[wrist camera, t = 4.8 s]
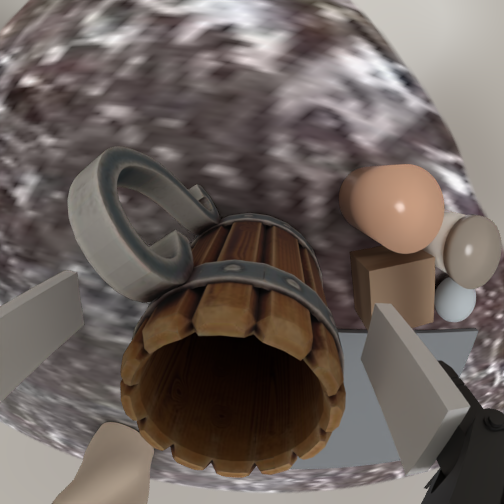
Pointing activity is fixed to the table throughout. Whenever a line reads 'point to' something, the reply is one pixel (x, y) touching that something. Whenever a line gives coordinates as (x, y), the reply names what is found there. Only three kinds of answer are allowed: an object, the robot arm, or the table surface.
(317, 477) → the table surface
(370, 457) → the slate pad
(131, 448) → the cream corked bottle
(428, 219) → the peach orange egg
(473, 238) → the jar
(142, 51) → the table surface
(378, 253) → the walnut block
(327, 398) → the mug
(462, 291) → the grey ball
